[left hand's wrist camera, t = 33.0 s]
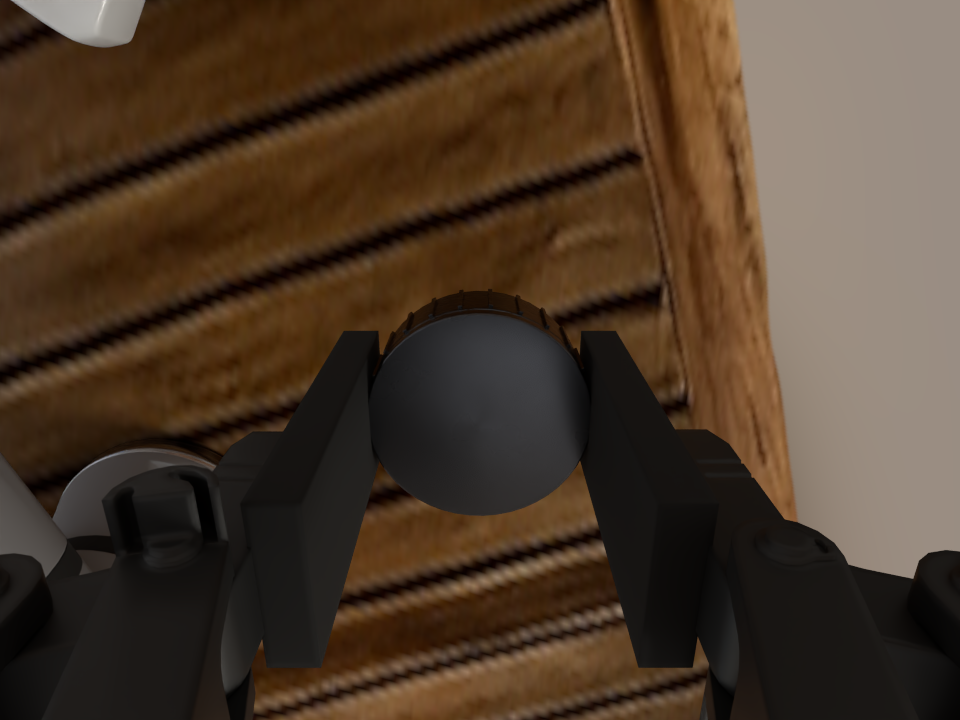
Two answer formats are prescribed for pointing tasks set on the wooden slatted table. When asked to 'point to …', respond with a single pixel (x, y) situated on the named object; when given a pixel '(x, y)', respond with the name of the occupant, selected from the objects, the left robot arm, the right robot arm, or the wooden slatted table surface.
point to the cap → (479, 404)
